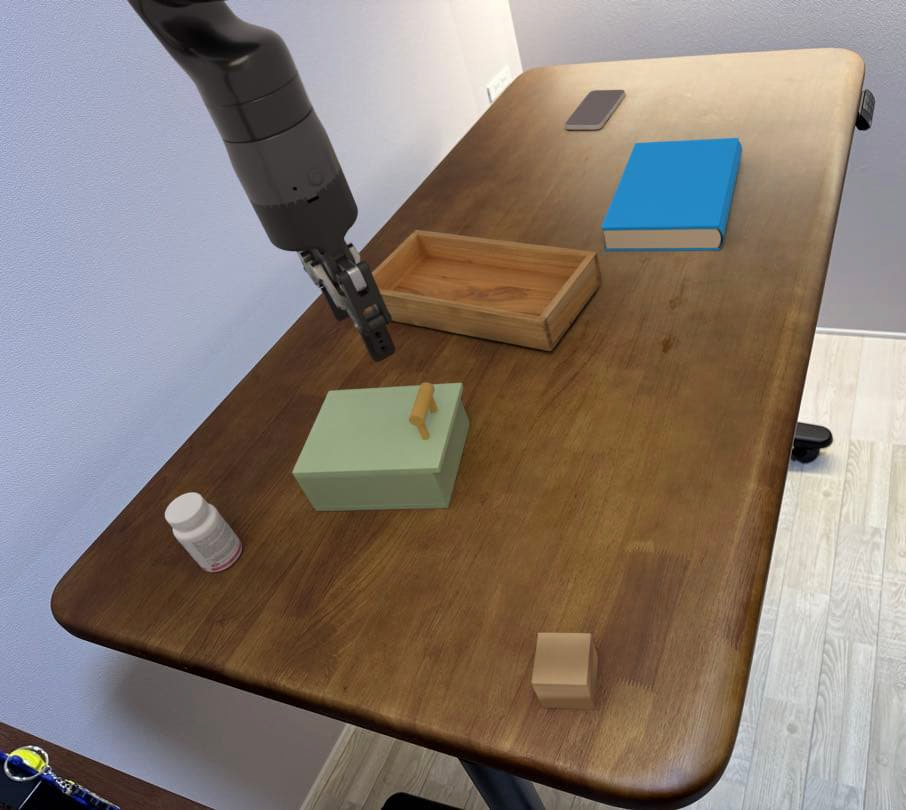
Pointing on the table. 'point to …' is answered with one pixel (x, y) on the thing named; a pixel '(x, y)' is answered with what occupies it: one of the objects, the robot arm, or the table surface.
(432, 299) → the tray
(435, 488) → the green box
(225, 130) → the robot arm
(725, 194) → the book
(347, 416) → the cover
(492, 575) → the table surface
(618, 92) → the smartphone
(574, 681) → the block
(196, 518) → the pill bottle
